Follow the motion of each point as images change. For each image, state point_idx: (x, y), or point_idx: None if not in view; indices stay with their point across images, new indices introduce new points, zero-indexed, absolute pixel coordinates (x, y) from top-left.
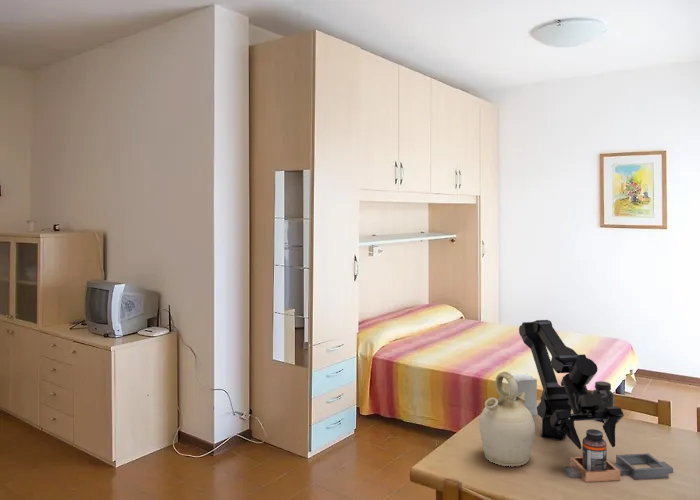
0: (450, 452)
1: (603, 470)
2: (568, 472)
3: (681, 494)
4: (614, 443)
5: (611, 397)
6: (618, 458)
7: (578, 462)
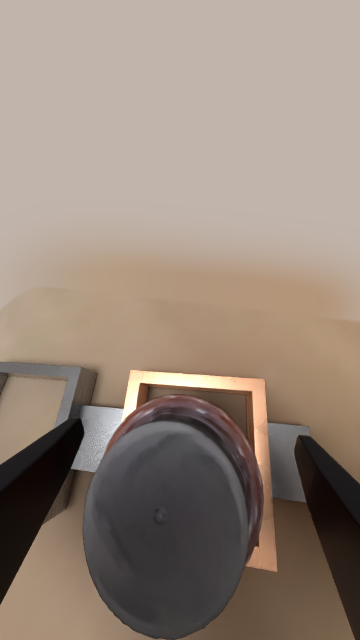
0: None
1: (187, 384)
2: None
3: (54, 287)
4: (65, 424)
5: None
6: None
7: None
